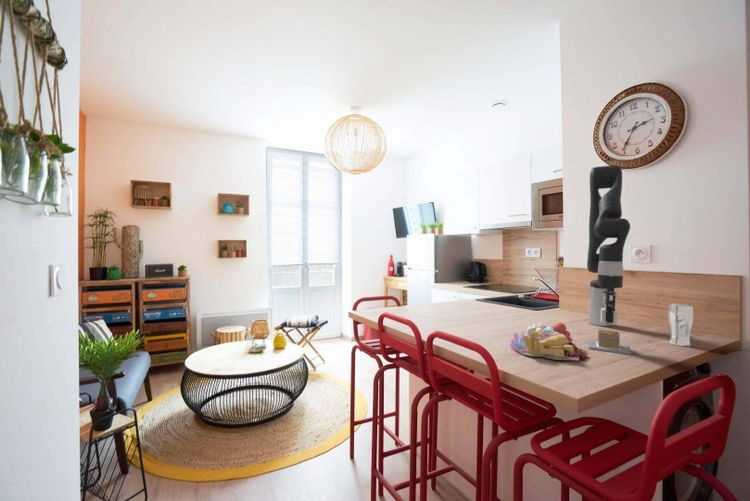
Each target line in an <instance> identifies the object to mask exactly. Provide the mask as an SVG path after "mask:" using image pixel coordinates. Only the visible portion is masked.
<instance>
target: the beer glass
mask: <svg viewBox="0 0 750 501" xmlns="http://www.w3.org/2000/svg"><path fill="white" fill-rule="evenodd" d="M668 307H669V308H668V322H669V323H668V324H669V329H670V336H669V337H670V338H669V341H668V342H669V344H671V345H675V346H680V347H691V340H690V334H691V330H692V327H693V323H694V309H693V308H694V307H693V305H691V304H686V303H673V302H672V303H669V306H668Z"/></svg>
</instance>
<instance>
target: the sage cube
mask: <svg viewBox="0 0 750 501" xmlns="http://www.w3.org/2000/svg"><path fill="white" fill-rule="evenodd" d="M605 309H606V308H601V322H603V323H608V322H606V311H605ZM613 324H614V325H617V324H618V310H617V309H616V308H615V311H614V312H613V323H612V325H613Z"/></svg>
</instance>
